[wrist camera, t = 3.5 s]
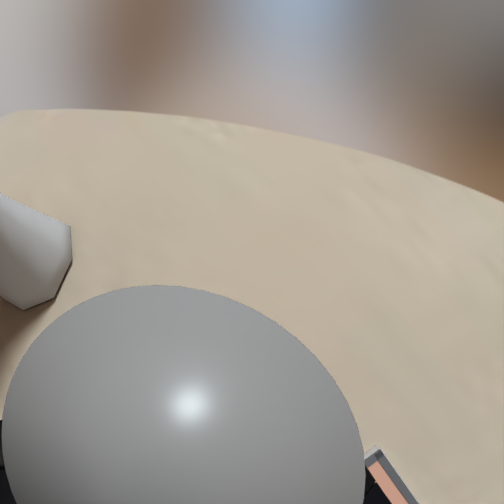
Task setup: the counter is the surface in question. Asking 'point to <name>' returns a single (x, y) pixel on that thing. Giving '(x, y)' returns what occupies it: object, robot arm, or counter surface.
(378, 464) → the grey sorting board
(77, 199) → the counter surface
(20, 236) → the flask
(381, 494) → the robot arm
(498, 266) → the counter surface
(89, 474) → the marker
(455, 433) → the counter surface
